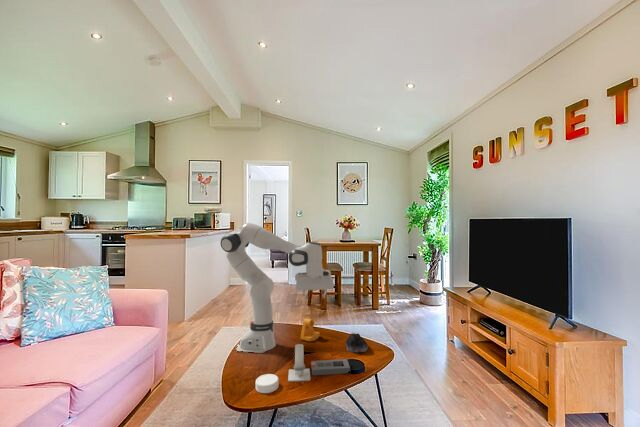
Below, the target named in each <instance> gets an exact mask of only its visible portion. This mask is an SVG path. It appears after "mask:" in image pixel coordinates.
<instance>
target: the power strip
mask: <svg viewBox="0 0 640 427" xmlns="http://www.w3.org/2000/svg"><path fill="white" fill-rule="evenodd" d="M310 362H311V363H310V364H311V365H310V366H311V375H312V376H323V375H324V376H325V375H341V374H342V375H343V374H344V375H345V374H349V373H348V372H349V371H350V372H351V366H350V364H349V361H348V359H347V358H343V359H342V358H341V359H327V360H326V359H325V360H324V359H322V360H311V361H310ZM342 364H343V365H344V366H342Z"/></svg>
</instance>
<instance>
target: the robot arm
mask: <svg viewBox="0 0 640 427" xmlns="http://www.w3.org/2000/svg"><path fill="white" fill-rule="evenodd" d="M249 244H251V245H253V246H254V247H257V248H259V249H262V250H277V251H281V252H284V253H285V254H287V255H288V257H287V258H288V262H289V263H290V265H291V266H294V267H301V266H305V268H306V269H305V272H297V273H296V274H295V276H294V279H295V280H294V281H295V282H296V283H295V289H296V291H299V292H300V291H302V294H303V295H304V300H307V299H309V298H308V297H309V296H308V294H307V293H306V291H319V290H320V291H322V290H323V291H324V292H323V293H322V294H321V296H322V299H326V294H327V293H328V290H333V289H334V287H335V286H334V280H333V277H332V272H331V270H329V269H325V268H323V262H322V261H323V249H322V245H321V244H320V243H319V242H315V241H307V242H306V243H305V244H303V245H302V246H300V245H297V244H293V243H292V242H290V241H287V240H286V239H283V238H281V237H279V236H278V235H276V234H275V233H273V232H271V230H268V229H267V228H264V227H262V226H261V225H258V224H255V223H252V222H246V223H245V224H242V226H241V227H239V228H237V229H234V230H231V231H230V232H228V233H227V234H225V235H224V236H223V237H222V238H220V247H221V249H222V250H223V251H224V252H226V258H227V261H228V262H229V264H230V265H231V267H232V268H233V269H234V271H235V272H236V273H237V275H239V277H240V278H241V279H242V280H243V281H245V282H247V283H248V285H250V286H251V287H250V289H249V290H250V291H249V294H250V297H251V304H252V308H253V310H252V311H253V315H252V316H253V317H252V318H253V320H251V321H250V323H249V329H247V331H246V332H244V334H242V335H241V338H240V342H239V343H240V345H239V343H238V344H237V345H236V347H237V346H238V347H237V348H236V347H235V350H237V351H243V352H242V353H248V352H254V353H255V354H256V353H257V354H262V353H265V352H266V351H267V352H268V351H270V350H272V349H274V348H275V347H276V346H277V344H276V340H275V334H274V328H275V327H274V326H275V324H274V323H275V322H274V320H273V306H272V300H271V295H272V292H273V290H274V289H275V285H274V284H275V283H274V280H273V279H272V278H271V277H269V276H268V275H267V274H266V273H265V272H264V271H263V270H262V269H260V268H259V266H257V264H256V263H255V262H254V261H253V259H252V258H251V256H249V255H248V253H247V252H246V250H245V248H248V247H249ZM237 351H236V352H237ZM254 353H253V354H254Z"/></svg>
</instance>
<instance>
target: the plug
mask: <svg viewBox="0 0 640 427" xmlns="http://www.w3.org/2000/svg"><path fill="white" fill-rule="evenodd" d="M304 359H305V356H304V344H303V343H297V344H295V345H294V364H293V369H294V370H295V375H296V376H302V375H304V369H306V364H305V363H304Z"/></svg>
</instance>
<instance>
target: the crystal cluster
mask: <svg viewBox="0 0 640 427" xmlns="http://www.w3.org/2000/svg"><path fill="white" fill-rule="evenodd" d="M345 345H346V346H345V348H346V350H347V351H348V352H351V353H366V352H367V350H368V349H369V346H368V343H367V342H366V340H365V339H364V338H363V337H362V336H361V334H359V333H357V332H356V333H355V332H352V333H351V332H350V334H349V336H348V338H347V339H346V340H345Z"/></svg>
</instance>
